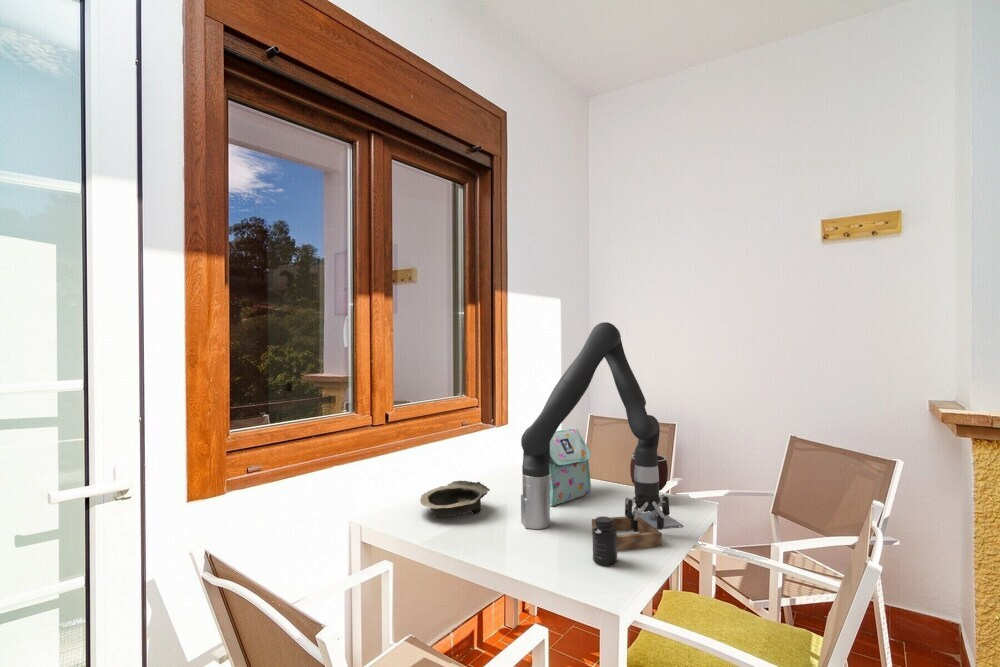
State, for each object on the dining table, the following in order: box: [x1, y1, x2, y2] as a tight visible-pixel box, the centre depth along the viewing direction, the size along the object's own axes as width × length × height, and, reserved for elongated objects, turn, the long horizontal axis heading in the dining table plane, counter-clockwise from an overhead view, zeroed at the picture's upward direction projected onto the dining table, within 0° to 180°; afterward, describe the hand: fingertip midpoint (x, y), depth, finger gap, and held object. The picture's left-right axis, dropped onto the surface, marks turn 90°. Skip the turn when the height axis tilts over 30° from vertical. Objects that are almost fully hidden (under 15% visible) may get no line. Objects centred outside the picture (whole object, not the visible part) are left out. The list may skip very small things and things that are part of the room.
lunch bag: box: [549, 428, 592, 507], centre depth 202 cm, size 23×16×27 cm
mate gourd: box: [629, 452, 669, 507], centre depth 196 cm, size 16×14×20 cm
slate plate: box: [639, 511, 684, 530], centre depth 176 cm, size 14×14×1 cm
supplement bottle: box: [591, 516, 618, 567], centre depth 144 cm, size 7×7×12 cm
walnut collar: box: [591, 515, 663, 552], centre depth 161 cm, size 16×16×4 cm
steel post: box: [648, 510, 657, 521], centre depth 176 cm, size 2×2×7 cm
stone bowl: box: [419, 480, 491, 518], centre depth 186 cm, size 25×25×9 cm
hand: (647, 530), depth 162 cm, fingers open, 8 cm apart
